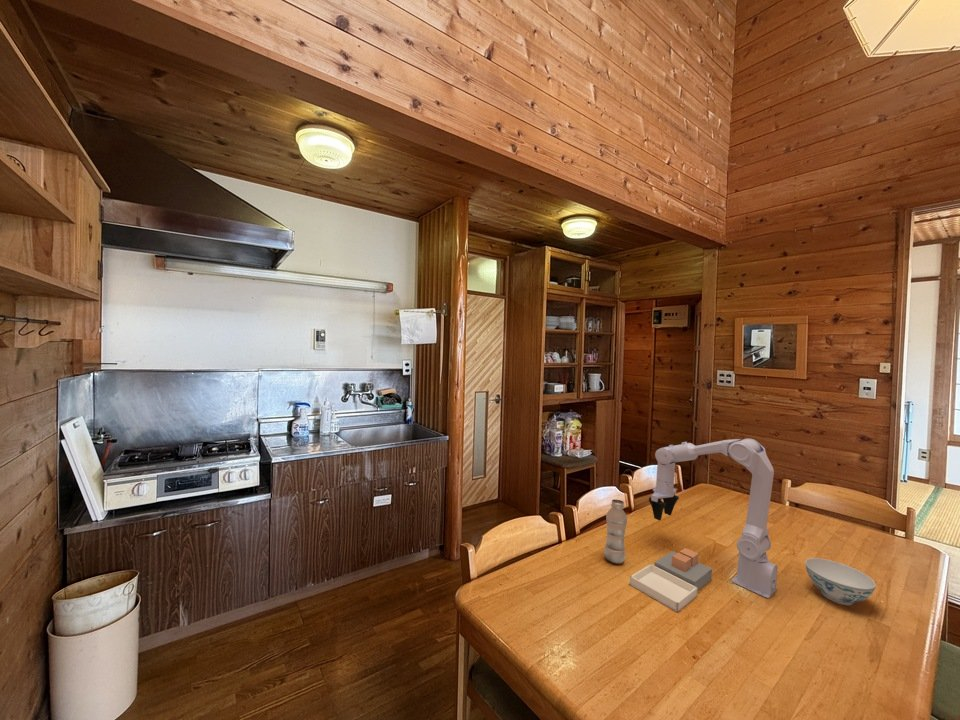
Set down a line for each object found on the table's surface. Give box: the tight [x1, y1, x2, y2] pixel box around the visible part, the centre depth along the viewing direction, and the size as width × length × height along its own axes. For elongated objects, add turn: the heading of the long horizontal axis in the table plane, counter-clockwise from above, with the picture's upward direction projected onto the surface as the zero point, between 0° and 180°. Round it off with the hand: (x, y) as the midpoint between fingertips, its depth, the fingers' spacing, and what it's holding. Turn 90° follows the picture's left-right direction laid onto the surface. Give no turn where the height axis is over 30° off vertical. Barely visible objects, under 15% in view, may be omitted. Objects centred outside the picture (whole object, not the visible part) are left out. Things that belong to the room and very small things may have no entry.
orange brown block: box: [679, 547, 699, 567], centre depth 120 cm, size 4×4×3 cm
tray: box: [629, 563, 699, 613], centre depth 110 cm, size 14×12×2 cm
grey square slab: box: [654, 550, 713, 591], centre depth 118 cm, size 12×12×4 cm
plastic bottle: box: [603, 499, 628, 565], centre depth 124 cm, size 6×7×20 cm
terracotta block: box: [671, 552, 691, 572], centre depth 117 cm, size 4×4×3 cm
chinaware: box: [804, 557, 877, 606], centre depth 111 cm, size 15×15×8 cm
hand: (662, 516), depth 137 cm, fingers open, 7 cm apart
